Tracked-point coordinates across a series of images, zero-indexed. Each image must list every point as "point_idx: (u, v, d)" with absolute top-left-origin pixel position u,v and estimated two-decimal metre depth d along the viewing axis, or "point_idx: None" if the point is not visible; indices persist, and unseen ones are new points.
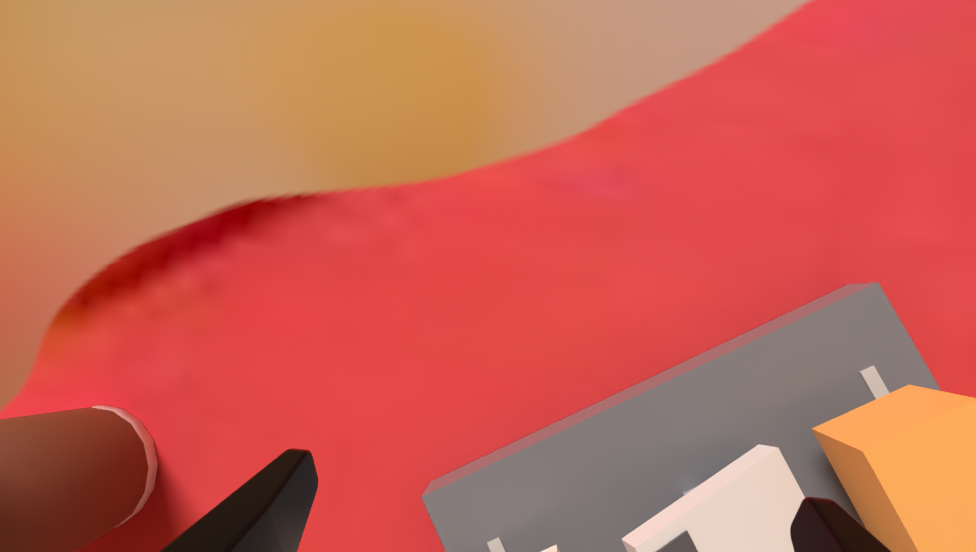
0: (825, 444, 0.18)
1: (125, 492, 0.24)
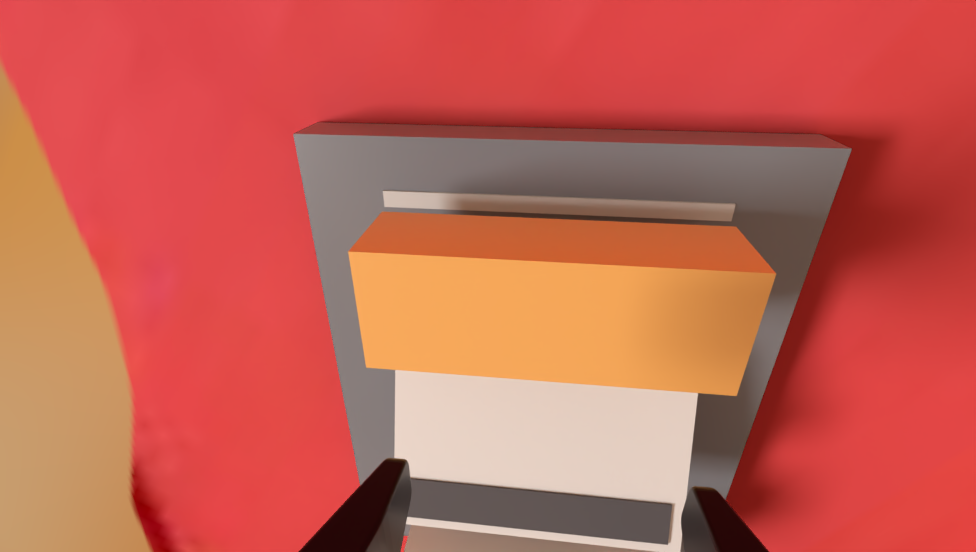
0: None
1: None
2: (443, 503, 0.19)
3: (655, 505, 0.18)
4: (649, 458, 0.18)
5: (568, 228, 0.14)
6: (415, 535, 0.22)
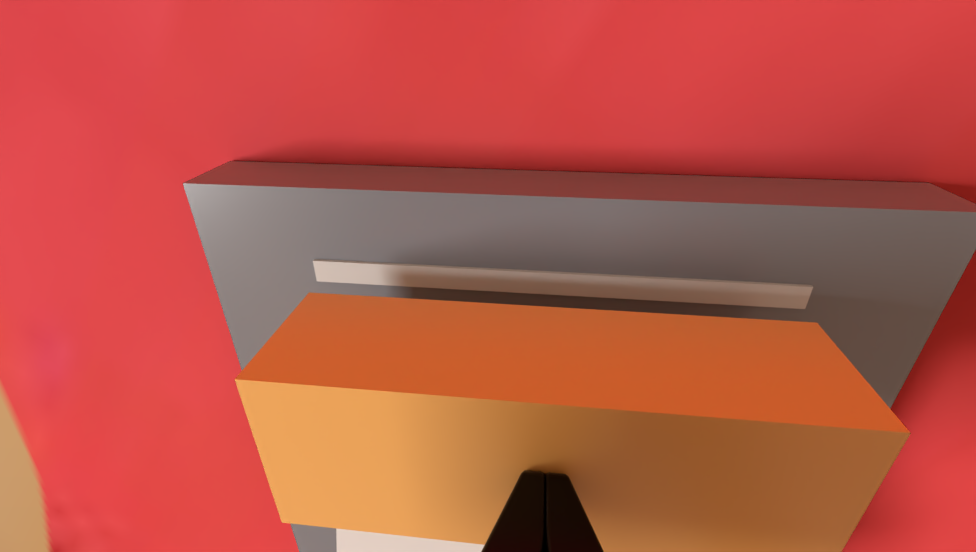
0: None
1: None
2: None
3: None
4: None
5: (572, 327, 0.10)
6: None
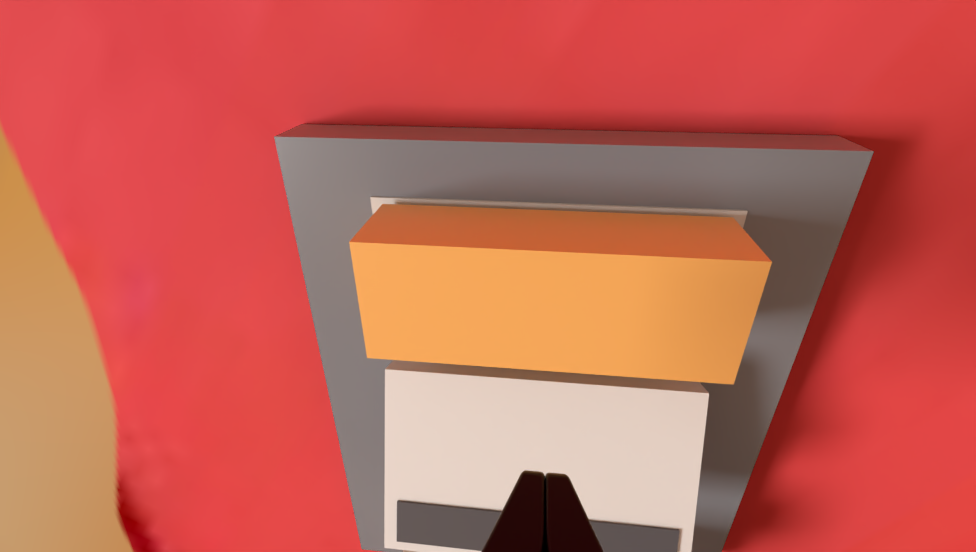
0: None
1: None
2: (437, 528, 0.18)
3: (661, 530, 0.17)
4: (655, 480, 0.17)
5: (566, 219, 0.15)
6: None
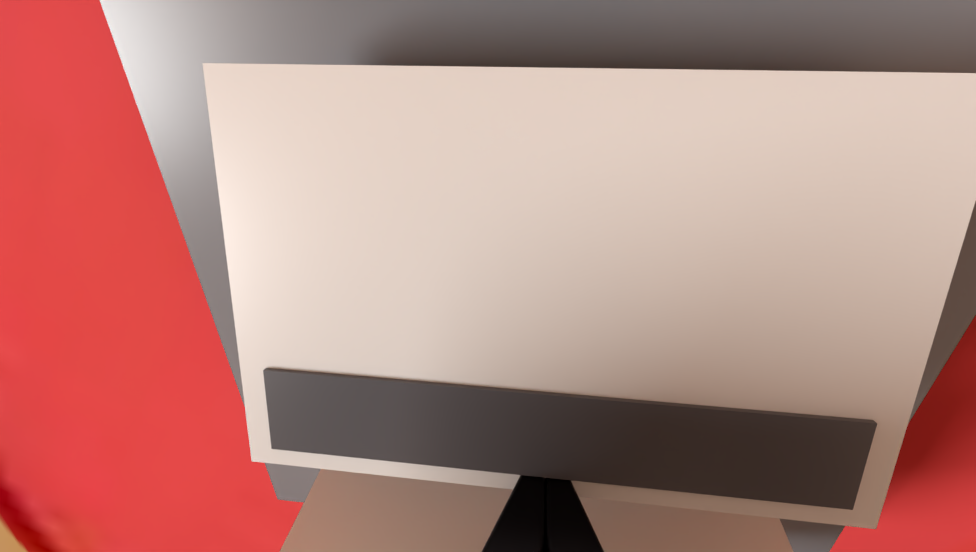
0: None
1: None
2: (348, 423, 0.09)
3: (832, 422, 0.08)
4: (834, 311, 0.07)
5: None
6: (318, 501, 0.11)
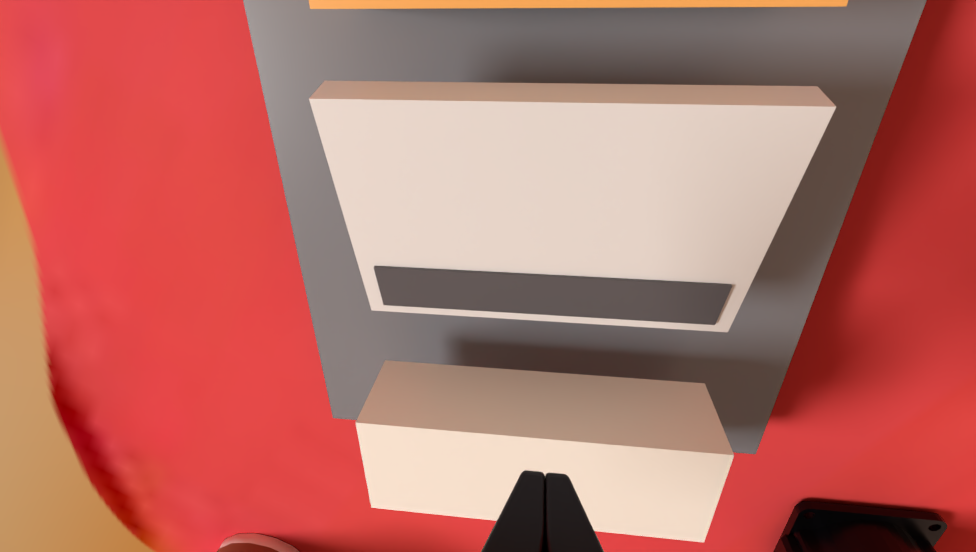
0: None
1: None
2: (428, 292, 0.15)
3: (708, 285, 0.13)
4: (713, 233, 0.12)
5: None
6: (383, 384, 0.16)
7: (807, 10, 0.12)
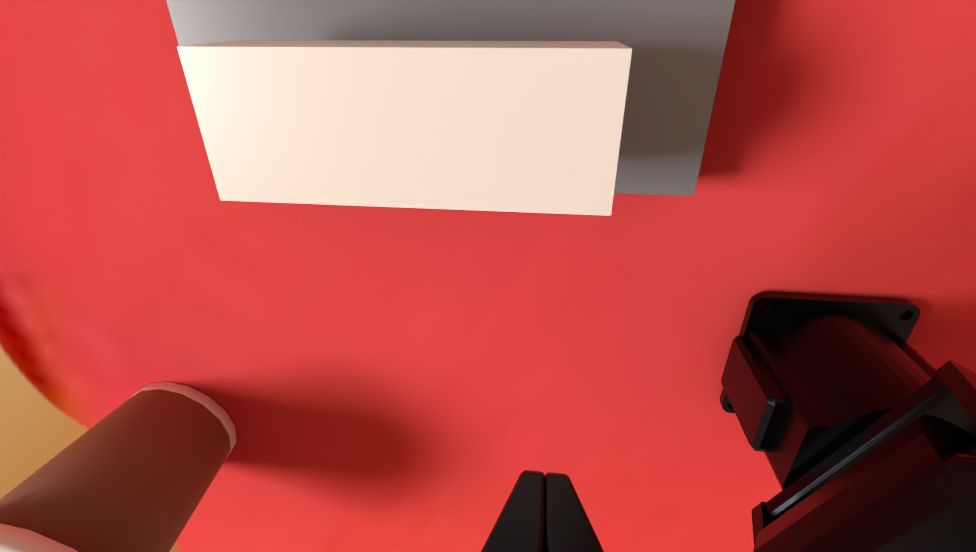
0: None
1: (178, 416, 0.26)
2: None
3: None
4: None
5: None
6: (229, 42, 0.13)
7: None
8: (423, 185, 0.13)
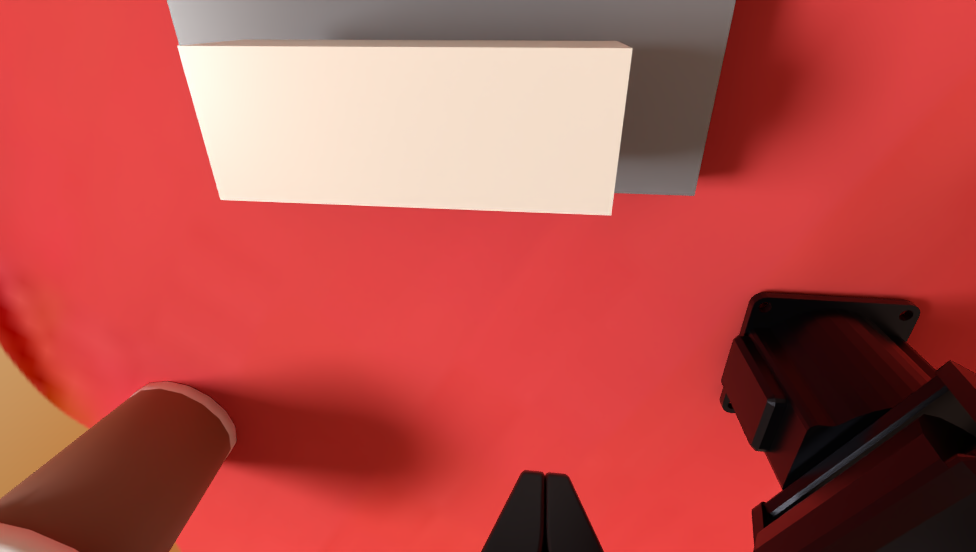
0: None
1: (177, 416, 0.26)
2: None
3: None
4: None
5: None
6: (229, 41, 0.13)
7: None
8: (423, 185, 0.13)
